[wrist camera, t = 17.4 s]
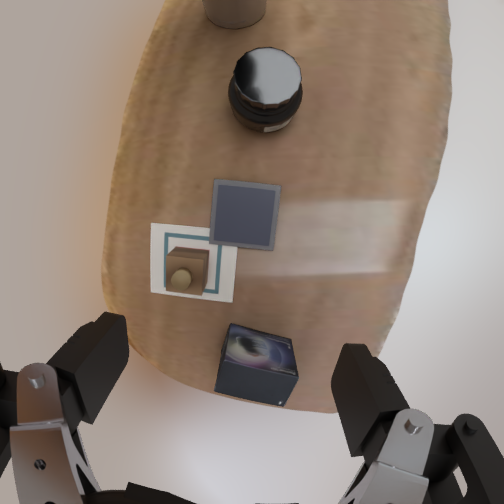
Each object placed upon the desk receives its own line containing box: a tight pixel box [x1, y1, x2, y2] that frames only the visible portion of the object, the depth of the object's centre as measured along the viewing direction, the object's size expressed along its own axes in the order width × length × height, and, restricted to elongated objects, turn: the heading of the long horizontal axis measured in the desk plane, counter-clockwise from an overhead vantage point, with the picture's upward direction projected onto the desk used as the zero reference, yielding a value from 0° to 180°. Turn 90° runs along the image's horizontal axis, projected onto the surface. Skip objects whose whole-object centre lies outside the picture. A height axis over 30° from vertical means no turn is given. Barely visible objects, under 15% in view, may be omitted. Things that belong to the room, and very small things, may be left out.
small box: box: [214, 323, 299, 407], centre depth 40 cm, size 11×6×10 cm, turn 73°
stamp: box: [166, 246, 209, 296], centre depth 38 cm, size 5×5×7 cm
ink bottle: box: [228, 47, 303, 132], centre depth 30 cm, size 10×9×12 cm
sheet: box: [150, 223, 238, 303], centre depth 41 cm, size 11×13×1 cm
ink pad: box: [209, 179, 281, 251], centre depth 39 cm, size 9×9×2 cm
